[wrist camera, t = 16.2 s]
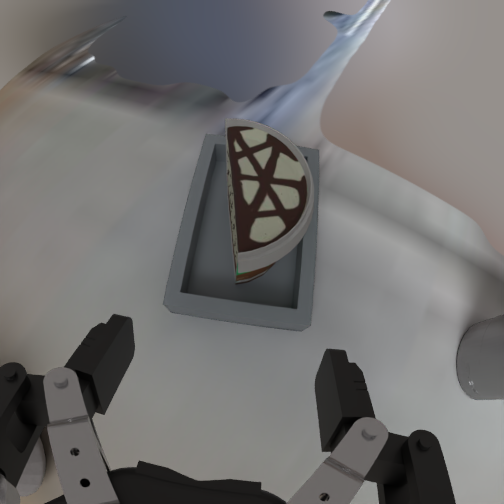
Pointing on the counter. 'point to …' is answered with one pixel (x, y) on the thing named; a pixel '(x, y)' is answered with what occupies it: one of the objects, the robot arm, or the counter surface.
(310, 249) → the tray
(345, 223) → the counter surface
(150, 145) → the counter surface
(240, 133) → the food container
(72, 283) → the counter surface
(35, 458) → the coffee pot
